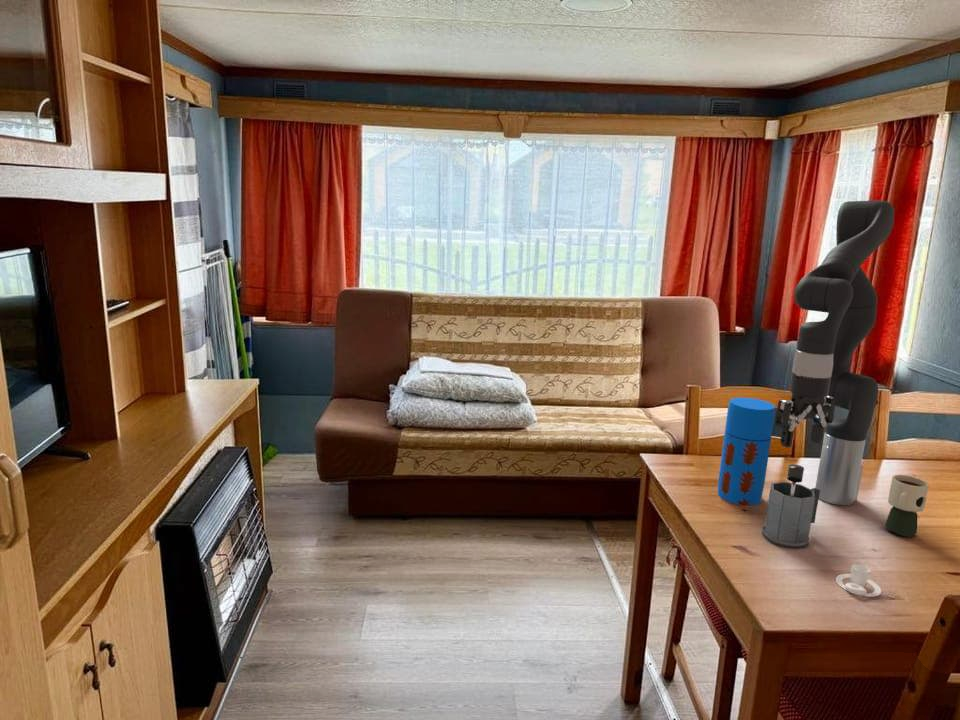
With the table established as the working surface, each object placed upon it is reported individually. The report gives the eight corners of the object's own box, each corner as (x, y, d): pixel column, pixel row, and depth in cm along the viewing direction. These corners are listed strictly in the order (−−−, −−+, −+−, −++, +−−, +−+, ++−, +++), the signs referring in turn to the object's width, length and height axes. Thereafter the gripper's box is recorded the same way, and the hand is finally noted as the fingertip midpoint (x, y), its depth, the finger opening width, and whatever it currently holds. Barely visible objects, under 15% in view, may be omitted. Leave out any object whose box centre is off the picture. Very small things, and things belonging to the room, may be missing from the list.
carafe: (793, 524, 156) (801, 477, 153) (827, 543, 147) (836, 494, 144) (752, 531, 151) (759, 484, 148) (785, 551, 142) (793, 501, 140)
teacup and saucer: (859, 603, 125) (863, 583, 124) (823, 581, 132) (826, 562, 131) (890, 594, 129) (894, 575, 128) (853, 573, 136) (857, 555, 135)
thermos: (765, 508, 163) (780, 412, 158) (720, 502, 165) (733, 407, 160) (756, 490, 174) (770, 399, 168) (714, 485, 176) (726, 395, 170)
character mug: (912, 546, 147) (923, 492, 144) (876, 534, 152) (886, 482, 149) (922, 530, 155) (933, 479, 152) (888, 520, 160) (898, 469, 157)
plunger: (786, 518, 152) (795, 459, 149) (810, 532, 146) (820, 471, 143) (763, 522, 150) (772, 462, 146) (787, 536, 144) (797, 474, 140)
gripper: (821, 365, 145) (811, 435, 149) (772, 370, 140) (762, 441, 144) (851, 374, 139) (839, 446, 142) (800, 378, 133) (789, 454, 137)
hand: (800, 444), depth 143 cm, fingers open, 8 cm apart
